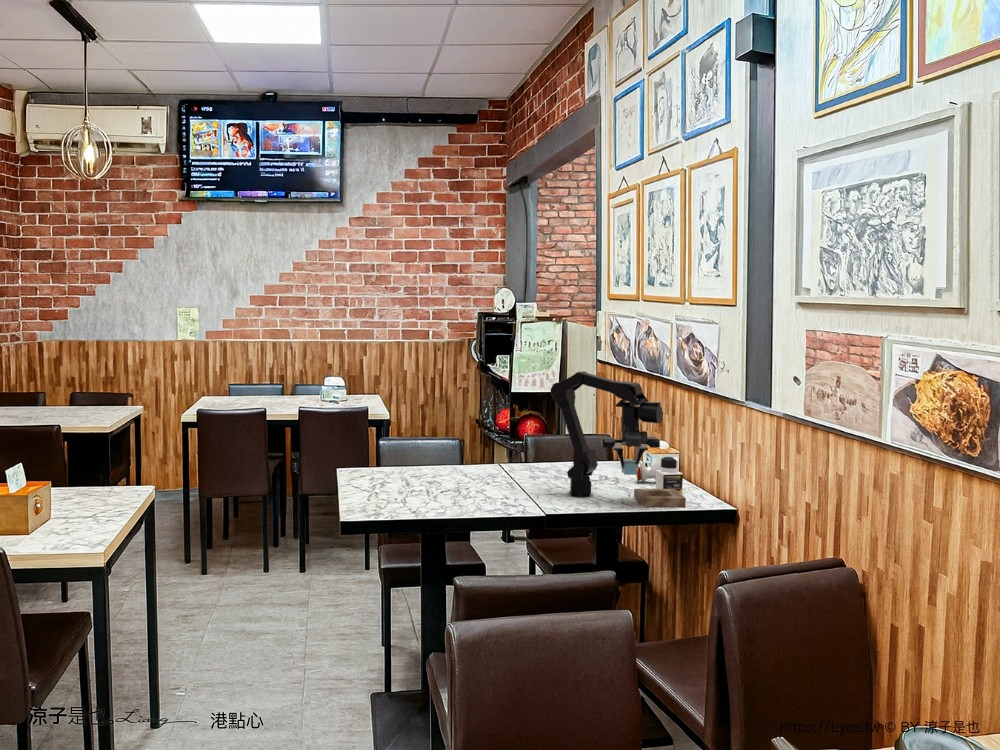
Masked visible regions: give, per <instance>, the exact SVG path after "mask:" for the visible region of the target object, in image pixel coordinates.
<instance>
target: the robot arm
mask: <svg viewBox="0 0 1000 750" xmlns="http://www.w3.org/2000/svg"><path fill="white" fill-rule="evenodd" d="M583 385H584V386H587V387H590V388H595V389H597V390H602V391H605V392H608V393H611V394H613V395H614V396H615V397H617V398H619V399H620V400H619V401H618V402H617V403H616V404H615V407H617V408H621V429H620V430H621V431H620V432H621V434H620V436H621V437H620V439H618V438H617V439H615V438H614V437H613V436H602V437H601V438H600V440H599V441H600V446H601V447H602V448H603V449H604V448H605V449H606V448H607V449H610V448H611V449H612V450H613V451H615V452H616V455H617V457H618V460H619V463H620V466H621V469H622V468H624V460H623V459H624V448H623V447H622V446H625V447H628V448H632V447H635V457H634V458H635V459H634V461H635V462H636V463H637V464H638V465H639V464H640V461H641V458H642V456H643V454H644V453H645V452H646V451H648V450H649V448H651V449H659V448H661V442H660V440H659V439H658V438H657V437H656V436H648V431H641V430H640V421H641V422H642V423H647V424H648V423H650V424H661V423H662V421H663V418H664V411H663V408H662V406H661V402H660V401H654V402H653V401H652V402H651V401H649V400H648V398H647V397H646V395H645V394H644V391H643V388H642V385H641V384H640V383H639V382H636V381H623V380H622V381H621V380H620V381H617V380H615V379H610V378H606V377H603V376H599V375H596V374H592V373H588V372H586V371H582V370H581V371H577V372H575V373H574V374H572V375H570V377H567V378H566V379H564V380H562V381H560V382H555V383H553V384H552V386H551V388H550V395H551V397H552V399H553V401H554V403H555V404H556V406H557V407H558V408H559V409H560V411H561V414H562V417H563V419H564V423H565V427H566V429H567V433H568V436H569V439H570V442H571V446H572V449H573V453H572V464H573V466H572V467H571V468H570V469H568V471H566V473H567V478H568V479H570V480H569V481H570V482H569V483H570V484H569V490H568V494H569V495H570V496H571V497H591V494H592V480H591V477H590V476H592V475H593V472H594V471H595V470H596V469H597V467H598V464H599V463H598V461H599V458H598V457H597V453H596V449H595V448H592V449H591V448H590V447H589V446H588V445H587V442H586V441H587V440H586V438H585V434H584V431H583V428H582V425H581V423H580V419H579V416H578V412H577V409H576V406H575V404H576V391H577V390H578V389H580V388H581V387H582V386H583ZM648 447H649V448H648Z"/></svg>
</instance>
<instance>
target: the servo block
mask: <svg viewBox="0 0 1000 750" xmlns="http://www.w3.org/2000/svg"><path fill="white" fill-rule="evenodd" d="M623 460H624V468H622V467H621V473H623V475H624V476H626V475H627V476H629V475H631V476H637V467H640V466H639V464H637V463H636V462H635V459H632V458H630V459H629V458H623Z"/></svg>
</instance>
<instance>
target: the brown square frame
mask: <svg viewBox="0 0 1000 750" xmlns="http://www.w3.org/2000/svg"><path fill="white" fill-rule="evenodd" d="M633 490H634V491H633V498H634V497H635V498H636V499H637V500H638V501H637V500H636V499H635V498H634V499H635V500H636V501H637V503H640V504H641V505H642V506H648V507H647V508H686V502H687V501H686V499H687V498H686V497H685V496H684V495H683V494H682V493H681V494H680V493H679V492H678V491H677V490H676V489H656V488H634V489H633ZM640 504H639V505H640ZM641 505H640V506H641ZM642 506H641V507H642Z"/></svg>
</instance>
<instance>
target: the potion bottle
mask: <svg viewBox="0 0 1000 750" xmlns="http://www.w3.org/2000/svg"><path fill="white" fill-rule="evenodd" d="M662 458H663V457H662ZM662 458H659V459H657V460H656V461H655V462H654V463H653V465H651V466H646V465H645V464H643V463H640V466H639V467H637V475H636V479H637V480H636V482H637V483H639V482H640V481H641V482H642V483H643V482H644V483H645V482H646V481H647V480H650V479H654V480H655V481H656V470H662V469H661V459H662ZM677 471H679V469H678V470H677Z"/></svg>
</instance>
